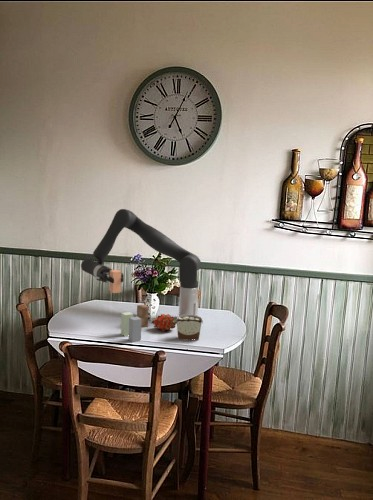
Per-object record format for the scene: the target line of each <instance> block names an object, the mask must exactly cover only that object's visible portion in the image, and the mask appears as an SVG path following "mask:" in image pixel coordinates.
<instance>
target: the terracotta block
mask: <svg viewBox="0 0 373 500" xmlns="http://www.w3.org/2000/svg"><path fill="white" fill-rule="evenodd" d="M121 273H122V270H118V269H114V270H113V269H112V270H111V271H110V277H112V278H114V283H111V282H109V292H110V293H112V294H116V293H117V294H118V293H121V292H122V291H121V289H122V282H121Z"/></svg>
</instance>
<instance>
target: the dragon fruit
mask: <svg viewBox="0 0 373 500" xmlns="http://www.w3.org/2000/svg"><path fill="white" fill-rule="evenodd" d="M151 324H153V328H154V329H156V330H159V331H162V332H165V331H167V332H169V331H171V329H172V330H173V329H175V328H177V321H176V319H175V317H174V316H171V315H170V314H168V313H165V314H164V313H162V314H161V313H160V315H158V316H157V317H156V318H154V319H153V320H152V321H151Z"/></svg>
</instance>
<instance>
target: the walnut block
mask: <svg viewBox="0 0 373 500" xmlns="http://www.w3.org/2000/svg"><path fill="white" fill-rule="evenodd" d="M136 317H139V318H141V329H142V328H148V327H149V306H148V305H146V304H139V305H138V304H137V306H136Z"/></svg>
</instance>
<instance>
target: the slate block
mask: <svg viewBox="0 0 373 500" xmlns="http://www.w3.org/2000/svg"><path fill="white" fill-rule="evenodd" d="M129 339H130V340H129ZM128 340H129V341H130V342H131V343H137V342H141V341H142V328H141V318H139V317H137V316H133V317H130V318H129V336H128ZM140 340H141V341H140Z"/></svg>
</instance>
